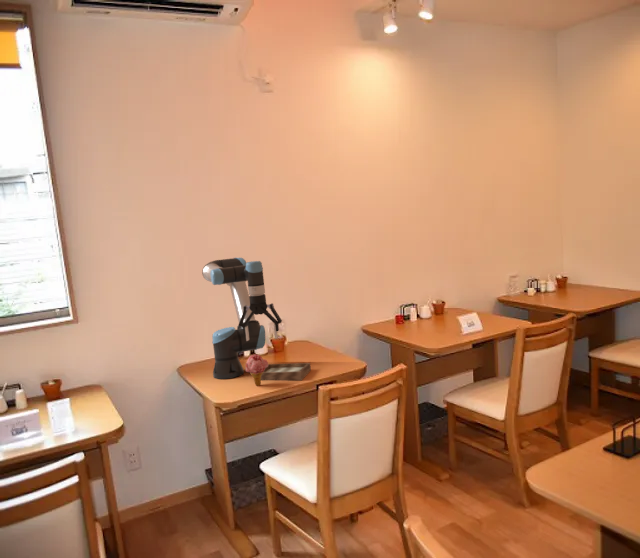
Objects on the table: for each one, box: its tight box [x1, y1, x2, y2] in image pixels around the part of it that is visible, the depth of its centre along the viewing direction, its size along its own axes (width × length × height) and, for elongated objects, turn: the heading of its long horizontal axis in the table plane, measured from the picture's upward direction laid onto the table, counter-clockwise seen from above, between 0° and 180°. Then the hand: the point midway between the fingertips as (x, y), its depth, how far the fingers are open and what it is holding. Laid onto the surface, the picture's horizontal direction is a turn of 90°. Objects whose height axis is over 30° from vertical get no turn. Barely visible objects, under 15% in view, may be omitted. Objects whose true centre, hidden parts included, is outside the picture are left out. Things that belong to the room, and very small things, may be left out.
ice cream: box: [245, 354, 269, 387], centre depth 261 cm, size 11×10×15 cm
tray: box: [261, 362, 312, 382], centre depth 275 cm, size 22×16×4 cm
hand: (262, 339), depth 263 cm, fingers open, 13 cm apart
